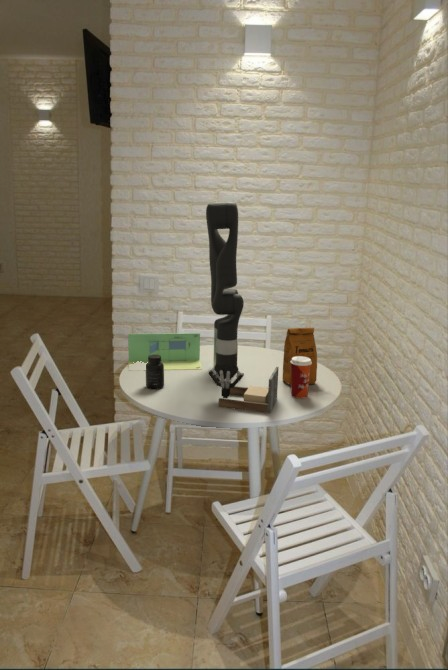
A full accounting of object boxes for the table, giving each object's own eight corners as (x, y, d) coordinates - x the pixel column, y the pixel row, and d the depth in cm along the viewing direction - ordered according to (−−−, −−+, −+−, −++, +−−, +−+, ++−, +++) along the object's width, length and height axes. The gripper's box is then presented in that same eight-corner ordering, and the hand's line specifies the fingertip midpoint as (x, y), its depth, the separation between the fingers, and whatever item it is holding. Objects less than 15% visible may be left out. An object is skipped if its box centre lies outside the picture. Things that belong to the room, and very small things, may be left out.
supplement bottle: (146, 383, 226) (145, 353, 222) (164, 383, 226) (164, 353, 223) (145, 390, 219) (145, 358, 216) (164, 390, 220) (163, 358, 216)
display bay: (228, 393, 218) (229, 361, 215) (276, 398, 214) (278, 366, 210) (218, 407, 205) (219, 374, 201) (269, 413, 200) (271, 379, 197)
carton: (249, 398, 214) (250, 385, 212) (270, 401, 212) (270, 388, 210) (243, 407, 205) (243, 394, 204) (264, 410, 203) (265, 396, 202)
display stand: (199, 360, 256) (199, 333, 253) (202, 370, 244) (202, 340, 241) (128, 362, 252) (128, 333, 249) (127, 371, 240) (127, 341, 237)
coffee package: (318, 386, 227) (322, 330, 222) (287, 387, 225) (290, 331, 219) (310, 377, 237) (313, 324, 231) (280, 379, 234) (282, 324, 229)
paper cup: (304, 400, 212) (306, 363, 209) (284, 396, 216) (286, 359, 212) (313, 394, 219) (315, 358, 215) (294, 390, 222) (296, 354, 219)
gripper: (247, 349, 208) (246, 395, 213) (211, 346, 211) (210, 391, 216) (243, 355, 201) (241, 403, 206) (205, 351, 204) (204, 399, 209)
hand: (225, 397), depth 211 cm, fingers closed
